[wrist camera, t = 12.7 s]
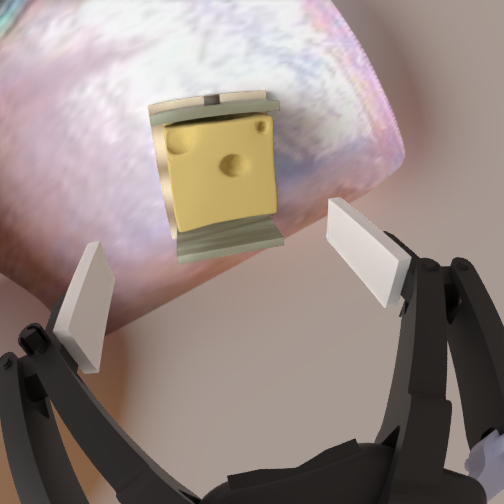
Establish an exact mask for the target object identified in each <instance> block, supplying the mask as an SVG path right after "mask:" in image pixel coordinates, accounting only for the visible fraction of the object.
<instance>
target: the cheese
mask: <svg viewBox="0 0 504 504" xmlns="http://www.w3.org/2000/svg"><path fill="white" fill-rule="evenodd" d="M163 126H164V127H163V134H164V140H165V145H166V154H167V163H168V171H169V177H170V184H171V191H172V198H173V206H174V213H175V218H176V222H177V226H178V230H179V232H185V231H189V230H193V229H196V228H199V227H203V226H206V225H210V224H213V223H218V222H223V221H229V220H235V219H240V218H246V217H251V216H258V215H264V214H272V213H276V212H277V189H276V179H275V168H274V149H273V117H271V116H269V115H266V114H261V113H258V112H248V113H237V114H228V115H219V116H211V117H204V118H197V119H191V120H185V121H179V122H173V123H168V124H163Z"/></svg>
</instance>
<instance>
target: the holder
mask: <svg viewBox="0 0 504 504" xmlns="http://www.w3.org/2000/svg"><path fill="white" fill-rule="evenodd" d="M148 110H149V117H150V124H151V131H152V137H153V143H154V149H155V155H156V161H157V167H158V172H159V177H160V183H161V188H162V193H163V198H164V203H165V208H166V212H167V217H168V222H169V226H170V230H171V235H172V239H177V259H178V263H179V264H184V263H189V262H195V261H200V260H206V259H211V258H217V257H222V256H228V255H233V254H238V253H244V252H249V251H255V250H260V249H266V248H271V247H277V246H282V245H284V237H283V236H282V234H281V233H280V231H279V230H278V228H277V227H276V225H275V224H274V222H273V221H272V214H264V215H258V216H251V217H246V218H240V219H235V220H229V221H223V222H218V223H213V224H210V225H206V226H203V227H199V228H196V229H193V230H189V231H185V232H179V230H178V226H177V222H176V218H175V213H174V206H173V198H172V191H171V184H170V177H169V171H168V163H167V154H166V145H165V140H164V134H163V127H164V126H163V124H168V123H173V122H179V121H185V120H191V119H197V118H204V117H211V116H219V115H228V114H237V113H248V112H258V113H261V114H266V115H267V111H278V110H280V106H279V100H268V99H266V91H249V92H236V93H225V94H216V95H207V96H200V97H193V98H186V99H180V100H174V101H168V102H163V103H158V104H153V105H148Z"/></svg>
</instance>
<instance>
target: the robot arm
mask: <svg viewBox="0 0 504 504" xmlns="http://www.w3.org/2000/svg"><path fill="white" fill-rule="evenodd" d="M326 239H327V240H328V242H329V243H330V244H331V245H332V246H333V247H334V248H335V249H336V251H337V252H338V253H339V254H340V255H341V256H342V258H343V259H344V260H345V261H346V262H347V263H348V265H349V266H350V267H351V268H352V269H353V270H354V272H355V273H356V274H357V275H358V276H359V278H360V279H361V280H362V281H363V282H364V283H365V285H366V286H367V287H368V288H369V290H370V291H371V292H372V293H373V295H374V296H375V297H376V298H377V300H378V301H379V302H380V303H381V304H382V306H383V307H384V308H385V309H387V308H389V307H392V306H395V305H397V304H398V301H399V298H400V295H401V296H402V297H403V298H404V299H405V301H404V304H403V307H402V310H401V313H400V315H399V317H401V316H402V320H401V329H400V337H399V344H398V351H397V357H396V363H395V369H394V375H393V380H392V385H391V390H390V394H389V399H388V403H387V408H386V412H385V416H384V420H383V423H382V426H381V429H380V431H379V433H378V435H377V437H376V439H375V442H374V443H357V441H356V439H353V440H350V441H347V442H345V443H342V444H340V445H338V446H335V447H332V448H329V449H327V450H325V451H323V452H322V453H320V454H319V455H317V456H316V457H314V458H312V459H311V460H309V461H308V462H306V463H304V464H302V465H300V466H299V467H296V468H286V469H259V470H254V471H250V472H245V473H240V474H235V475H229V476H227V478H228V481H227V482H225V483H222V484H221V485H219V486H217V487H216V488H214V489H213V490H211V491H210V492H209V493H208V494H207V495H205V497H204V498H203V499H200V498H199V497H198V496H197V495H195V494H194V493H193V492H191V491H190V490H189V489H187V488H186V487H184V486H183V485H181V484H180V483H179V482H177V481H176V480H175V479H174V478H173V477H171V476H170V475H169V474H168V473H167V472H166V471H165V470H163V469H162V468H161V467H160V466H159V465H158V464H157V463H156V462H154V461H153V460H152V459H151V458H150V457H149V456H148V455H147V454H146V453H145V452H144V451H143V450H142V449H141V448H140V447H139V446H138V445H137V444H136V443H135V442H134V441H133V440H132V439H131V438H130V437H129V436H128V435H127V434H126V432H125V431H124V430H123V429H122V428H121V427H120V426H119V425H118V424H117V423H116V421H115V420H114V419H113V418H112V417H111V416H110V414H109V413H108V412H107V411H106V410H105V409H104V407H103V406H102V405H101V404H100V402H99V401H98V400H97V399H96V397H95V396H94V395H93V394H92V392H91V391H90V390H89V388H88V387H87V386H86V384H85V383H84V382H83V380H82V379H81V378H80V376H79V375H78V374H77V369H78V366H79V367H80V368H81V370H82V371H83V372H84V373H98V372H99V366H100V359H101V352H102V346H103V340H104V334H105V328H106V322H107V317H108V312H109V307H110V302H111V298H112V293H113V289H114V284H115V278H114V276H113V273H112V271H111V268H110V266H109V263H108V261H107V258H106V255H105V253H104V250H103V248H102V245H101V242H100V241H96V242H91V243H88V245H87V247H86V249H85V251H84V253H83V255H82V258H81V260H80V262H79V264H78V267H77V269H76V271H75V274H74V276H73V278H72V281H71V283H70V286H69V288H68V291H67V293H66V295H61V296H60V298H59V299H58V300H57V301H56V303H55V305H54V307H53V310H52V311H53V312H52V313H51V316H50V319H49V321H48V324H47V326H46V329H45V331H44V329H43V328H42V326H41V325H40V324H38V323H32V324H30V325H28V326H26V327H25V328H24V329H23V330H22V331H21V333H20V335H19V338H18V343H19V345H20V346H21V347H22V348H23V350H24V351H25V352H26V354H27V355H26V356H24V357H21V358H19V359H18V357H17V356H16V355H15V354H14V353H13V352H8V353H5V354H4V355H2V356H1V358H0V419H1V426H2V432H3V438H4V443H5V448H6V453H7V458H8V462H9V466H10V469H11V473H12V477H13V480H14V484H15V487H16V490H17V493H18V496H19V499H20V502H21V504H89V502H88V500H87V498H86V496H85V494H84V492H83V490H82V488H81V486H80V484H79V482H78V479H77V477H76V475H75V473H74V471H73V468H72V466H71V463H70V460H69V458H68V455H67V453H66V450H65V447H64V445H63V442H62V439H61V436H60V433H59V430H58V427H57V424H56V420H55V417H54V414H53V410H52V407H51V403H50V400H51V402H52V403H53V405H54V407H55V409H56V410H57V412H58V414H59V415H60V417H61V418H62V420H63V422H64V423H65V425H66V426H67V428H68V430H69V431H70V432H71V434H72V436H73V437H74V439H75V440H76V441H77V443H78V444H79V446H80V447H81V449H82V450H83V451H84V453H85V454H86V455H87V457H88V458H89V459H90V461H91V462H92V463H93V465H94V466H95V467H96V468H97V470H98V471H99V472H100V473H101V474H102V476H103V477H104V478H105V479H106V480H107V481H108V483H109V484H110V485H111V486H112V487H113V489H114V490H115V491H116V497H117V499H118V501H119V502H120V503H121V504H487V502H488V501H489V500H491V499H492V498H493V497H494V496H496V495H497V494H498V493H499V492H500V491H501V490H503V489H504V326H503V324H502V321H501V319H500V317H499V315H498V313H497V310H496V308H495V306H494V304H493V302H492V300H491V298H490V296H489V294H488V292H487V290H486V288H485V286H484V284H483V282H482V280H481V279H480V277H479V275H478V273H477V271H476V270H475V268H474V266H473V265H472V264H471V262H469V261H468V260H467V259H464V258H459V257H456V258H454V259H453V260H452V263H451V265H450V266H444V267H443V266H442V267H441V266H440V265H439V264H438V262H436V261H434V260H432V259H429V258H419V257H418V256H417V255H416V254H415V253H414V252H413V251H411V250H410V249H409V248H408V247H407V246H405V245H404V244H403V243H402V242H401V241H400V240H399V239H397V238H396V237H395V236H394V235H392V234H390V233H388V232H386V231H381V230H380V229H379V228H378V227H377V226H375V225H374V224H373V223H372V222H370V221H369V220H368V219H367V218H366V217H364V216H363V215H362V214H361V213H360V212H358V211H357V210H356V209H355V208H353V207H352V206H351V205H350V204H348V203H347V202H346V201H344V200H343V199H342V198H341V197H336V198H329V202H328V220H327V236H326ZM447 340H448V344H449V348H450V352H451V355H452V359H453V364H454V368H455V372H456V377H457V382H458V387H459V392H460V398H461V404H462V410H463V417H464V424H465V431H466V437H467V441H468V445H469V448H470V454H469V458H468V459H467V460H466V462H465V469H466V470H467V471H469V475H468V476H466V475H463V474H459V473H457V472H453V471H451V470H447V469H445V468H443V467H444V463H445V457H446V452H447V446H448V439H449V432H450V424H451V415H452V403H451V401H449V400H446V381H447ZM49 398H50V399H49Z"/></svg>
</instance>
